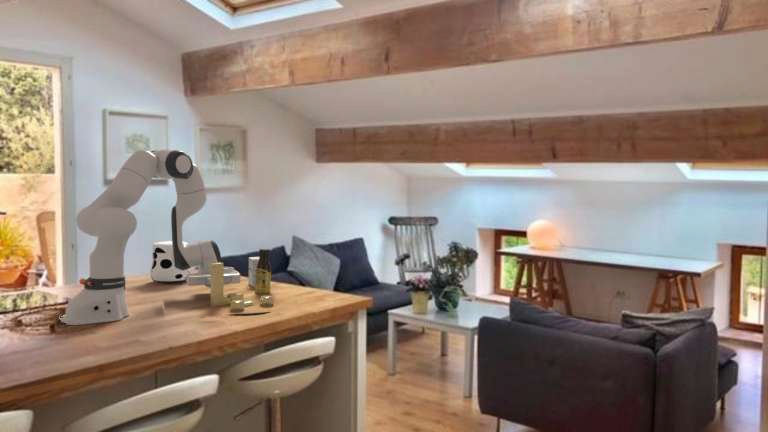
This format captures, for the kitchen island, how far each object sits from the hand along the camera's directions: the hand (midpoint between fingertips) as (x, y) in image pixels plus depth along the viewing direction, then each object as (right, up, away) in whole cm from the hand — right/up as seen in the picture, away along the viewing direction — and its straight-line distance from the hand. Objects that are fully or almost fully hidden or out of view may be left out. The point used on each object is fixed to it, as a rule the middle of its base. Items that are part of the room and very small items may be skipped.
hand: (215, 282), depth 240 cm
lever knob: (+4, -8, +3) cm, 9 cm away
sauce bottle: (+13, -9, +26) cm, 30 cm away
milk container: (-35, -6, +53) cm, 63 cm away
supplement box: (+6, -7, +49) cm, 50 cm away
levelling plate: (+11, -10, +1) cm, 15 cm away
